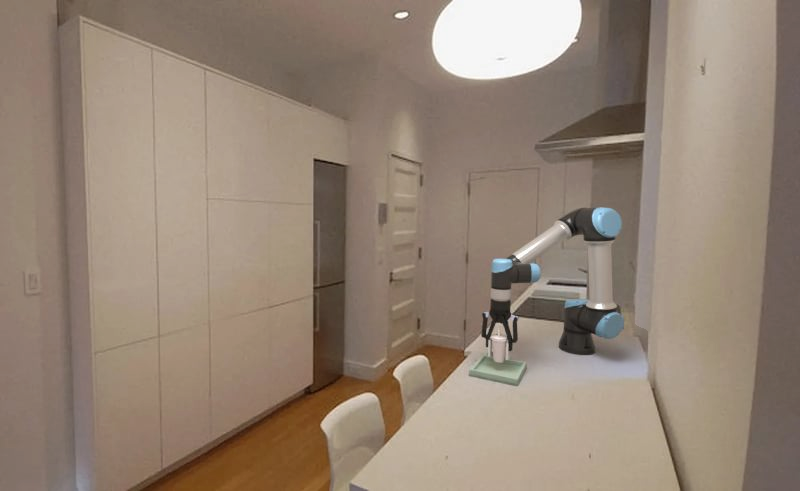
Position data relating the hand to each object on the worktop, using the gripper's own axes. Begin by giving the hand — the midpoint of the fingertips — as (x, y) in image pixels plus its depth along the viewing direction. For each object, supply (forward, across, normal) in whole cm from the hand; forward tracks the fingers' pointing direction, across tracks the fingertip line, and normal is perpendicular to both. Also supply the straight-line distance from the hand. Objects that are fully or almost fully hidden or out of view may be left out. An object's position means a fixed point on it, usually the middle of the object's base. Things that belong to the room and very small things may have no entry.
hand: (498, 357), depth 150 cm
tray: (+6, 0, 0) cm, 6 cm away
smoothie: (+2, 0, 0) cm, 2 cm away
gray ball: (+6, +6, -11) cm, 14 cm away
